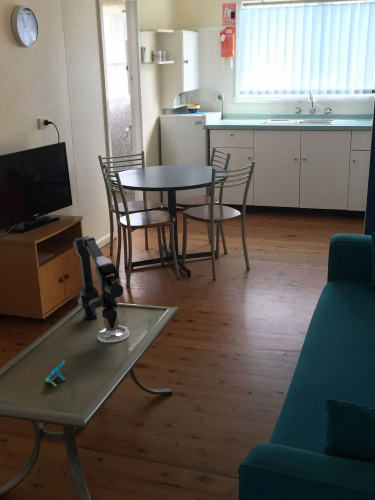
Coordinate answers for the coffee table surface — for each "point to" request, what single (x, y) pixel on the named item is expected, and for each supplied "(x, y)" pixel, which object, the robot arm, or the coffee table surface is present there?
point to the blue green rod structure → (56, 372)
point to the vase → (114, 324)
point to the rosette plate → (113, 335)
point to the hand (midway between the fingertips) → (112, 324)
